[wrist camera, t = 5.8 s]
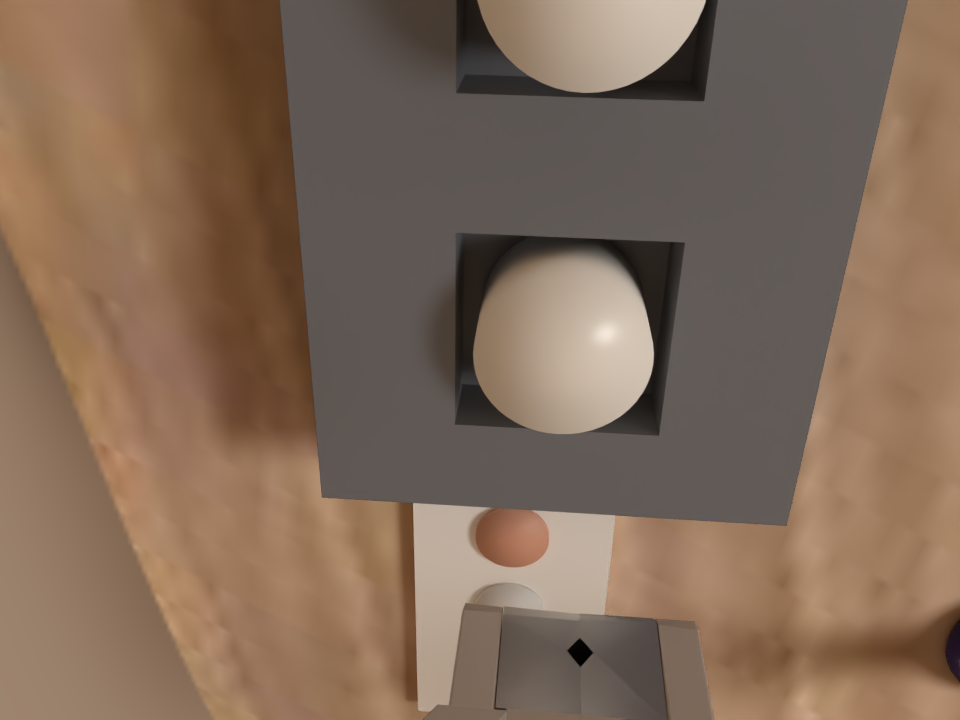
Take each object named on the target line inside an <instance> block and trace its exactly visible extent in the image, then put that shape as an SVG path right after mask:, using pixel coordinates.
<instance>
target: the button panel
mask: <svg viewBox="0 0 960 720" xmlns="http://www.w3.org/2000/svg"><path fill="white" fill-rule="evenodd" d="M907 1H908V0H706V2H705V5H704V8H703V10H702V12H701V15H700V17H699V19H698V21H697V23H696V25H695V27H694V28H693V30H692V32H691V33H690V35H689V37H688V38H687V39H686V41H685V42H684V43H683V44H682V46H681V47H680V48H679V49H678V51H677V52H676V53H675V54H674V55H673V56H672V57H671V58H670V59H669V60H668V61H667V62H665V63H664V64H663V65H662V66H660V67H659V68H658V69H657V70H655V71H654V72H652V73H651V74H649V75H647V76H646V77H644V78H642V79H641V80H638V81H636V82H634V83H632V84H630V85H627V86H624V87H621V88H618V89H614V90H609V91H603V92H594V93H580V92H570V91H565V90H561V89H557V88H554V87H551V86H548V85H546V84H543V83H541V82H539V81H537V80H535V79H534V78H532V77H530V76H528V75H527V74H526V73H524V72H523V71H522V70H520V69H519V68H517V67H516V66H515V65H514V64H513V63H512V62H511V61H510V60H509V59H508V58H507V57H506V56H505V55H504V53H503V52H502V51H501V50H500V48H499V47H498V46H497V45H496V43H495V41H494V40H493V38H492V36H491V35H490V33H489V31H488V29H487V27H486V24H485V22H484V20H483V18H482V14H481V11H480V8H479V4H478V1H477V0H280V10H281V22H282V34H283V45H284V57H285V69H286V81H287V93H288V104H289V116H290V128H291V140H292V151H293V163H294V175H295V187H296V198H297V210H298V222H299V234H300V246H301V257H302V269H303V281H304V293H305V304H306V316H307V328H308V340H309V351H310V363H311V375H312V387H313V399H314V410H315V422H316V434H317V446H318V457H319V469H320V481H321V493H322V498H339V499H355V500H371V501H388V502H404V503H420V504H437V505H453V506H469V507H486V508H502V509H519V510H535V511H551V512H568V513H584V514H600V515H617V516H633V517H649V518H666V519H682V520H698V521H715V522H731V523H747V524H764V525H780V526H787V522H788V517H789V513H790V509H791V504H792V500H793V496H794V491H795V487H796V483H797V478H798V474H799V470H800V465H801V461H802V457H803V452H804V448H805V444H806V439H807V435H808V431H809V426H810V422H811V418H812V413H813V409H814V405H815V400H816V396H817V392H818V387H819V383H820V379H821V374H822V370H823V366H824V361H825V357H826V353H827V348H828V344H829V340H830V335H831V331H832V327H833V322H834V318H835V314H836V309H837V305H838V301H839V296H840V292H841V288H842V283H843V279H844V275H845V270H846V266H847V261H848V257H849V253H850V248H851V244H852V240H853V235H854V231H855V227H856V222H857V218H858V214H859V209H860V205H861V201H862V196H863V192H864V188H865V183H866V179H867V175H868V170H869V166H870V162H871V157H872V153H873V149H874V144H875V140H876V136H877V131H878V127H879V123H880V118H881V114H882V110H883V105H884V101H885V97H886V92H887V88H888V84H889V79H890V75H891V71H892V66H893V62H894V58H895V53H896V49H897V45H898V40H899V36H900V32H901V27H902V23H903V19H904V14H905V10H906V6H907ZM530 236H543V237H567V238H590V239H603V240H605V241H607V242H608V243H610V244H611V245H613V246H614V247H616V248H617V249H618V250H619V251H620V252H621V253H622V254H623V255H624V256H625V257H626V258H627V259H628V261H629V262H630V263H631V265H632V266H633V268H634V270H635V271H636V274H637V276H638V278H639V281H640V284H641V288H642V293H643V298H644V302H645V307H646V312H647V317H648V322H649V326H650V331H651V336H652V341H653V349H654V360H653V368H652V373H651V376H650V379H649V381H648V384H647V386H646V388H645V390H644V391H643V393H642V395H641V396H640V397H639V399H638V400H637V401H636V403H635V404H634V405H633V406H632V407H631V408H630V409H629V410H628V411H626V412H625V413H624V414H623V415H622V416H620V417H619V418H617V419H615V420H614V421H612V422H611V423H608V424H606V425H604V426H602V427H600V428H597V429H594V430H591V431H586V432H582V433H575V434H552V433H544V432H540V431H536V430H533V429H530V428H527V427H524V426H522V425H520V424H518V423H516V422H514V421H513V420H511V419H509V418H508V417H506V416H505V415H504V414H503V413H501V412H500V411H499V410H498V409H497V408H496V407H495V406H494V405H493V404H492V403H491V402H490V401H489V399H488V398H487V396H486V395H485V394H484V392H483V390H482V388H481V386H480V384H479V382H478V379H477V376H476V373H475V368H474V361H473V350H474V341H475V336H476V330H477V325H478V319H479V313H480V308H481V302H482V297H483V291H484V287H485V283H486V281H487V278H488V276H489V273H490V272H491V270H492V268H493V266H494V265H495V264H496V262H497V261H498V260H499V258H500V257H501V256H502V255H503V254H504V253H505V252H506V251H507V250H508V249H510V248H511V247H512V246H514V245H515V244H517V243H518V242H520V241H522V240H524V239H525V238H528V237H530Z"/></svg>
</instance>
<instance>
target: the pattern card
mask: <svg viewBox="0 0 960 720" xmlns="http://www.w3.org/2000/svg"><path fill="white" fill-rule="evenodd" d="M615 516H616V515H600V514H584V513H568V512H551V511H535V510H519V509H502V508H486V507H469V506H453V505H437V504H420V503H413V522H414V563H415V605H416V647H417V688H418V711H430V712H431V711H432V709H433V708H434V707H435V706H436V705H437V704H439V705H449V700H450V693H451V686H452V679H453V672H454V665H455V658H456V651H457V644H458V637H459V630H460V623H461V616H462V611H463V608H464V605H465V603H471V604H480V605H490V606H499V607H503V612H504V606H507V607H516V608H526V609H535V610H545V611H554V612H564V613H573V614H578V613H580V614H594V615H604V613H605V604H606V595H607V586H608V577H609V569H610V560H611V551H612V542H613V533H614V524H615Z"/></svg>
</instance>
